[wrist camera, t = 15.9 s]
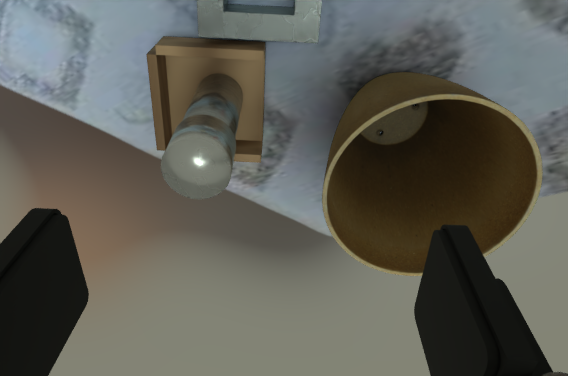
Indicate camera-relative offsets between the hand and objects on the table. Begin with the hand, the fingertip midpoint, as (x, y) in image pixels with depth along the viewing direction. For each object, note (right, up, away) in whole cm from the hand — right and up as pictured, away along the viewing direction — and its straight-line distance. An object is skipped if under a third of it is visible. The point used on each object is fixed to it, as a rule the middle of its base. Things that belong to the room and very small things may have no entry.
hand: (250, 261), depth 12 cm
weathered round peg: (-5, +11, +31) cm, 33 cm away
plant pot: (+11, +10, +33) cm, 36 cm away
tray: (-6, +11, +32) cm, 34 cm away
